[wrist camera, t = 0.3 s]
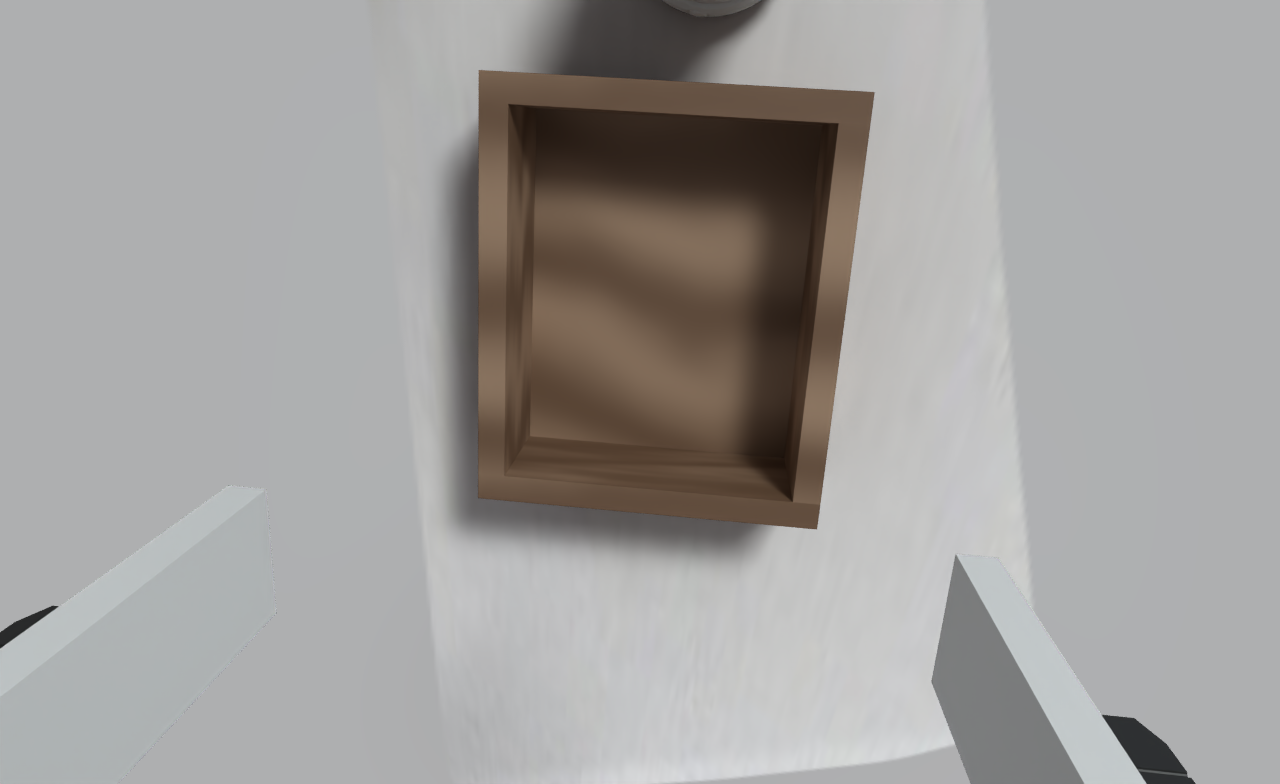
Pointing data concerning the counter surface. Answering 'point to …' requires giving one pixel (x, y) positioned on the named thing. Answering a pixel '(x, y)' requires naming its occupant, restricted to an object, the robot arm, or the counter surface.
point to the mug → (711, 6)
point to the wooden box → (663, 292)
